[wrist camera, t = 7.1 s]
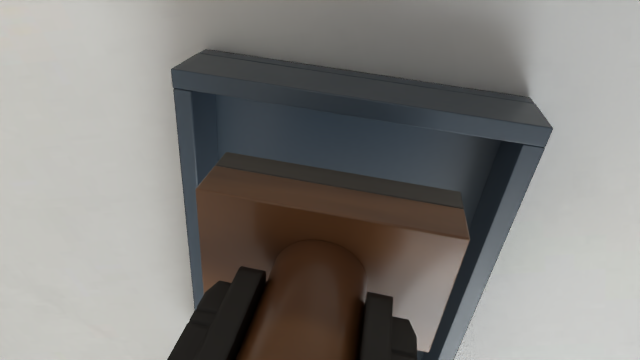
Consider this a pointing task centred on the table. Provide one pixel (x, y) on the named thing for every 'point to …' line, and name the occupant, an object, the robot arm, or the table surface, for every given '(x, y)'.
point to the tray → (365, 147)
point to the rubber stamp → (328, 252)
